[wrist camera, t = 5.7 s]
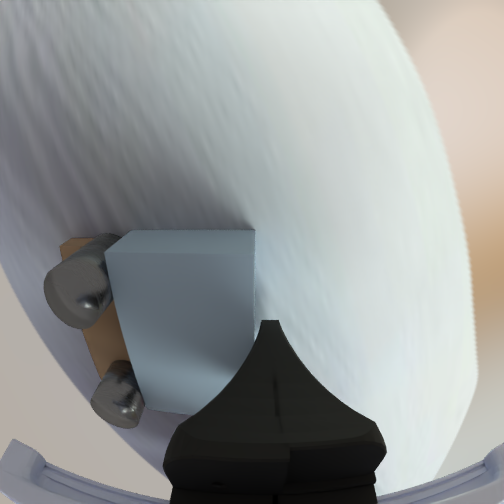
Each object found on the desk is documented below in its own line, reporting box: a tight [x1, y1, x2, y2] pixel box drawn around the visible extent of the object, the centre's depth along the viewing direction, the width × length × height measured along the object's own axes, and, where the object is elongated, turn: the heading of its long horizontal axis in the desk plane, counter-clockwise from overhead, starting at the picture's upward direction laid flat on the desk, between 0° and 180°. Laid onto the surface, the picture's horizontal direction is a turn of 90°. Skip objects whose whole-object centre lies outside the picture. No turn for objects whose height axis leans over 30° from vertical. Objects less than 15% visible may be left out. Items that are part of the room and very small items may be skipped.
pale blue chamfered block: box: [104, 230, 255, 415], centre depth 12 cm, size 8×5×2 cm, turn 0°
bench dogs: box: [44, 233, 145, 429], centre depth 11 cm, size 8×3×4 cm, turn 0°
